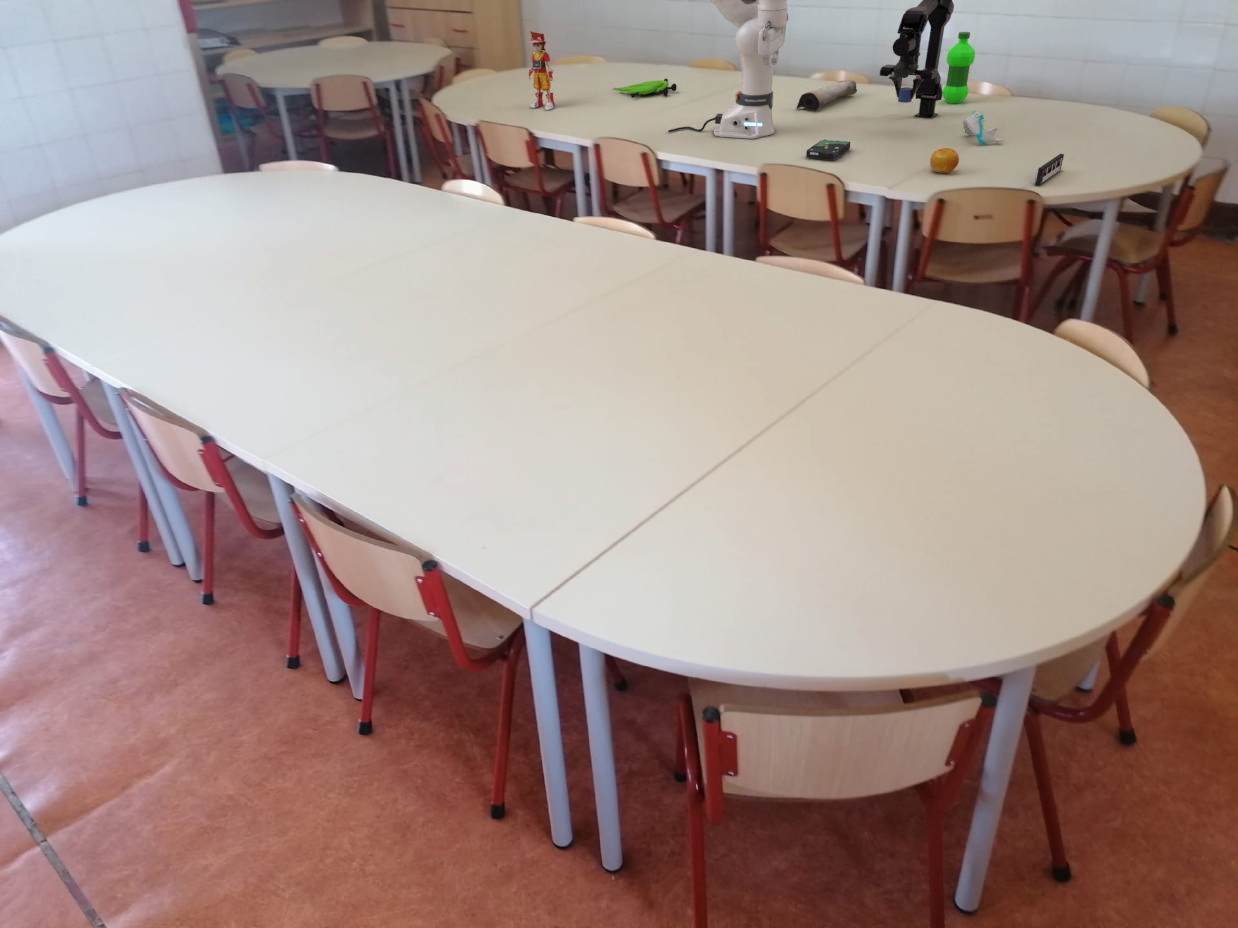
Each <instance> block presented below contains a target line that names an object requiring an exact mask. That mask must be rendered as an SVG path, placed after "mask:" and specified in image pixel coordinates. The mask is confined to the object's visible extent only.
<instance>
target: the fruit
mask: <svg viewBox="0 0 1238 928" xmlns="http://www.w3.org/2000/svg"><path fill="white" fill-rule="evenodd" d="M959 163H960V156H959V154H958V152H957V151H956V150H955V149H953V148H951V147H942V148H938V149H936V150H934V151H933V153H932V154H931V155H930V159H929V166H930V168H931V169H932V170H933V171H934V172H936V173H939V174H940V173H943V174H944V173H945V174H946V173H951V172H953V171H954V170H956V168H957V167H958V165H959Z"/></svg>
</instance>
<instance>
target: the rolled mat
mask: <svg viewBox="0 0 1238 928" xmlns="http://www.w3.org/2000/svg"><path fill="white" fill-rule="evenodd" d="M857 92H858V89H857V83H856V81H855V80H850V79H849V80H846V79H845V80H841V81H837V82H834V83H831V84H828V85H826V86H822V87H819V88H817V89H813V90H810V91H807V92H805V93H803V94H801V96H800V97H799V99H798V102H797V105H796V110H799V109H800V108H805V109H806V110H807V111H812V112H817V111H818V110H819V109H821V108H822V107H824V106H825V105H827V104H828V103H830V102H831V101H833V100H835V99H836V98H838V97H841V96H852V95H855V94H856V93H857Z"/></svg>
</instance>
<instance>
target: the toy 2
mask: <svg viewBox="0 0 1238 928" xmlns="http://www.w3.org/2000/svg"><path fill="white" fill-rule="evenodd" d="M669 85H670V83H669V79H668V78H664V79H663V80H649V81H644V82H640V83H634V84H629V85H627V86H621V87H613V88H612V89H613V90H616V91H619V92H623V93H627V94H628V93H629V94H631V95H630V96H631V98H632V99H634V98H636V96H637V95H650V94H652V93H654V94H658V93H662V95H663V96H665V97H667V96H668V95H669V90H671V91H672V92H676V91H677V84H676V83H672V84H671V86H669Z"/></svg>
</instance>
